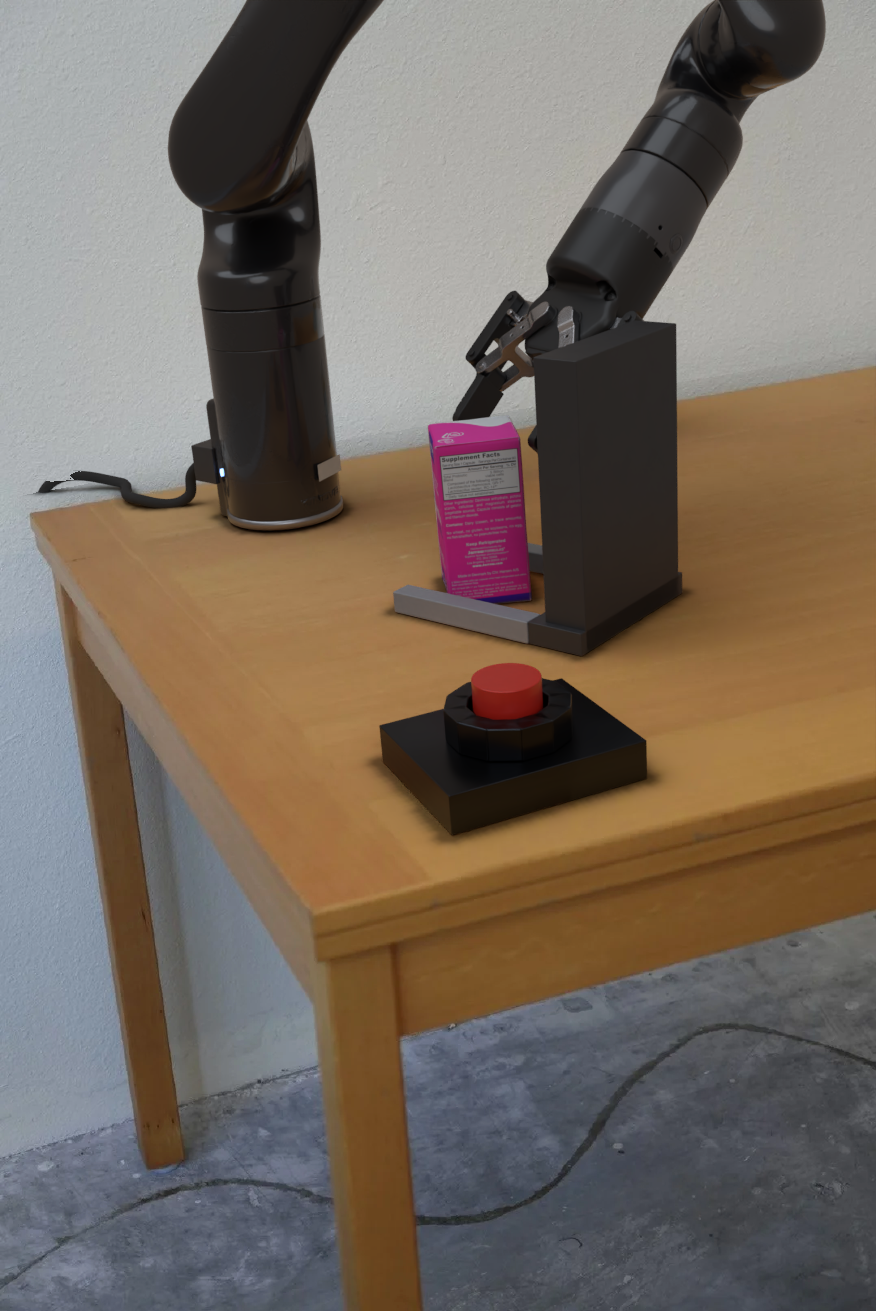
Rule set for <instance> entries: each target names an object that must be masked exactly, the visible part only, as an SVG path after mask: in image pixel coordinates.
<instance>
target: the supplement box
mask: <svg viewBox="0 0 876 1311" xmlns="http://www.w3.org/2000/svg"><path fill="white" fill-rule="evenodd" d="M427 433H428V434H427V435H428V443H429V444H428V445H429V456H430V466H431V467H430V468H431V475H432V476H431V477H432V478H431V479H432V489H433V499H434V509H435V519H436V520H435V521H436V531H437V542H438V551H439V562H440V570H441V579H442V581H443V584H444V587H445V591H446V593H448V594H453V595H457V596H462V597H466V598H471V599H475V600H479V601H484V602H488V603H493V604H497V605H498V604H508V603H519V602H530V601H532V600H533V598H532V597H533V596H532V587H531V585H532V584H531V571H530V569H529V553H528V543H529V542H528V530H527V516H526V515H527V514H526V501H525V500H526V499H525V486H524V472H523V471H524V470H523V457H522V446H521V444H522V442H521V437H520V435H519V433H518V430H517V429H516V426H515V424H514V423H513V421H512V419H511V417H510V416H509V414H502V415H495V416H490V417H486V418H479V419H470V420H461V421H453V420H452V421H443V422H433V423H428V424H427Z"/></svg>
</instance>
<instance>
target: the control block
mask: <svg viewBox="0 0 876 1311" xmlns="http://www.w3.org/2000/svg"><path fill="white" fill-rule="evenodd" d="M542 694H543V708H542V710H540V711H539V712H538V713H536V714H533V715H529V716H525V717H522V718H518V719H502V720H493V719H489V718H485V717H481V716H477V715H476V714H475V713H474V711H473V701H472V687H471V681H468V682H466V683H464V684H462V685H460V686H459V687H458V688H456V689H454V690H453V691H451V692H450V693H449V694H447V695H446V697H445V701H444V704H443V705H444V706H443V708H441V709H437V710H433V711H429V712H425V713H422V714H418V715H413V716H410V717H406V718H402V719H399V720H394V721H390V722H387V723H383V724H380V725H379V738H380V747H381V757H382V762H383V763H384V765H385V766H387V768H388V769H389V770H390V771H391V772H392V773H393V774H394V775H395V776H396V778H398V780H399V781H400V782H401V783H402V784H403V785H404V786H405V787H406V788H407V789H408V790H409V791H410V792H411V794H412V795H413V796H414V797H415V798H416V799H417V800H418V801H419V802H420V803H421V804H422V805H423V806H424V808H426V810H427V811H428V812H430V814H432V815H433V817H434V818H435V819H436V820H437V821H438V822H439V823H440V824H441V826H443V828H444V829H445V830H446V831H448V833H449V834H450V835H451V836H454V835H458V834H462V833H465V832H468V831H472V830H475V829H479V828H482V827H485V826H488V825H492V824H496V823H499V822H502V821H506V820H509V819H513V818H516V817H519V816H523V815H527V814H531V813H533V812H536V811H540V810H545V809H547V808H551V807H553V806H558V805H561V804H564V803H568V802H571V801H574V800H577V799H581V798H584V797H588V796H592V795H595V794H599V793H601V792H605V791H609V790H612V789H615V788H619V787H622V786H626V785H629V784H633V783H635V782H639V781H643V780H647V779H648V758H647V757H648V753H647V751H648V750H647V749H648V747H647V746H648V745H647V739H646V738H644V737H643V736H641V735H640V734H638V733H637V732H635V730H633V729H631V728H630V727H629V726H628V725H626V724H625V723H624V722H622V721H621V720H619V719H618V718H617V717H615V715H613V714H611V713H610V712H609V711H607V710H605V709H604V708H603V707H601V706H600V705H599V704H597V703H596V702H595V701H594V700H592V698H589V697H588V696H587V695H586V694H584V693H582V692H581V691H580V690H579V689H578V688H576V687H575V686H573V685H572V684H570V683H569V682H568V681H566V680H565V679H564V678H562V677H560V678H557V679H554V680H553V679H549V678H544V677H542Z"/></svg>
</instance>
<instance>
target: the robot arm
mask: <svg viewBox="0 0 876 1311" xmlns="http://www.w3.org/2000/svg"><path fill="white" fill-rule="evenodd" d="M383 2H385V0H245V2H244V4H243V6H242V8H241V10H240V11H239V12H238V14H237V16H236V18H235V19H234V21H233V23H232V24H231V25H230V27H229V29H228V30H227V31H226V34H225V35H224V37H223V38H222V40H221V41H220V43H219V44H218V46H217V48H216V49H215V51H213V54H212V55H211V57H210V58H209V60H208V61H207V63H206V64H205V66H204V67H203V69H201V70H202V71H201V72H200V73H199V75H198V76H197V78H196V79H195V81H194V82H193V84H192V85H191V86H190V88H189V89H188V91H187V92H186V93H185V96H184V97H183V98H182V100H181V101H180V103H179V105H178V106H177V108H176V110H175V112H174V115H173V116H172V118H171V123H170V125H169V130H168V137H167V138H168V139H167V157H168V164H169V167H170V171H171V174H172V178H173V180H174V182H175V184H176V185H177V187H178V188H179V191H181V193H182V194H183V195H184V197H185V198H187V199H188V200H189V201H190V202H191V203H192V204H194V206H196V207H198V208H200V209H201V214H202V216H201V217H202V225H203V244H202V245H203V246H202V253H201V258H200V260H199V261H200V262H199V265H198V269H197V275H196V278H197V288H198V296H199V303H200V309H201V316H202V324H203V331H204V338H205V339H204V340H205V345H206V352H207V359H208V360H207V361H208V367H209V374H210V381H211V382H210V383H211V390H212V397H213V398H210V399H209V400H207V401H206V406H205V409H206V415H207V423H208V430H209V439H207V440H206V439H205V440H204V441H201V442H198V443H195V444H192V445H191V446H190V448H191V453H192V461H193V462H192V463H191V464H190V466H189V467H188V469H187V470H186V473H185V477H184V484H185V491H184V492H183V493H182V494H181V495H179V496H176V497H174V498H159V497H154V496H149V495H144V494H140V493H136V492H133V490H132V488H133V487H132V483H131V482H130V481H129V480H128V479H127V478H124V477H121V476H117V475H116V476H115V475H111V474H105V473H101V472H95V471H88V470H77V471H78V472H75V473H73V474H71V475H70V476H71V477H72V478H73V479H74V480H66V481H54V482H50V481H46V480H45V481H44V482H43V483H41V485H40V487H39V488H38V491H37V493H39V494H46V493H50V492H51V491H52V490H53V489H54V488H56V487H57V486H58V485H61V484H63V483H66V482H74V481H75V482H76V481H78V482H79V481H80V482H91V483H96V484H101V485H106V486H110V487H114V488H115V487H116V488H120V495H121V498H122V499H123V500H124V501H125V502H127V503H129V504H135V505H139V506H142V507H146V508H151V509H173V508H181V507H184V506H186V505H188V504H190V503H191V502H192V501H193V500H194V499H195V497H196V495H197V482H202V483H208V484H212V485H216V488H217V495H218V503H219V511H220V515H221V516H223V517H227V519H228V521H229V523H231V524H232V525H234V526H236V527H239V528H243V529H248V530H254V531H285V530H294V529H300V528H304V527H310V526H313V525H317V524H319V523H323V522H325V521H328V520H330V519H333V518H334V517H336V516H338V515H339V514H340V513H341V512H342V511H343V509H344V500H343V496H342V492H341V484H340V472H341V471H342V463H341V462H342V461H341V454H340V453H339V454H338V453H337V452H338V451H337V441H336V432H335V423H334V411H333V401H332V394H331V384H330V374H329V373H330V372H329V364H328V354H327V344H326V335H325V325H324V317H323V316H324V315H323V306H322V297H321V289H320V288H321V287H320V263H321V262H320V261H321V252H322V234H321V233H322V232H321V220H320V206H319V194H318V192H319V191H318V180H317V170H316V169H317V168H316V159H315V148H314V142H313V136H312V131H311V127H310V124H309V121H308V120H309V118H310V115H311V113H312V111H313V109H314V106H315V104H316V102H317V100H318V98H319V96H320V94H321V92H322V90H323V88H324V86H325V83H326V82H327V80H328V78H329V76H330V75H331V73H332V71H333V69H334V67H335V65H336V64H337V62H338V61H339V59H340V57H341V56H342V54H343V52H344V51H345V50H346V48H347V47H348V46H349V44H350V43H351V41H352V40H353V39H354V38H355V36H356V35H357V34H358V33H359V32H360V30H361V29H362V28H363V27H364V26H365V25H366V23H367V22H368V21H369V19H370V18H371V17H373V14H375V12H376V11H377V10H378V9H379V8H380V6H381V5H382V4H383ZM825 12H826V11H825V6H824V2H823V0H712V1H711V2H710V3H707V4H706V5H705V7H703V8H702V9H701V10H700V11H699V12H698V13H697V15H696V16H695V17H694V18H693V19H692V21H691V22H690V23H689V25H688V26H687V28H686V29H685V31H684V32H683V33H682V35H681V37H680V38H679V40H678V42H677V44H676V46H675V47H674V50H673V52H672V54H671V56H670V58H669V61H668V63H667V66H666V68H665V70H664V73H663V74H662V75H663V76H662V77H661V80H660V82H659V84H658V87H657V89H656V90H657V91H656V94H655V97H654V101H653V103H652V104H651V106H650V107H649V108H648V109H647V111H646V112H645V113H644V115H643V117H642V118H641V120H640V121H639V123H638V124H637V126H636V127H635V129H634V131H633V132H632V134H631V135H630V137H629V138H628V140H627V142H625V145H624V146H623V147H622V150H621V151H620V153H619V154H618V155H617V157H616V158H615V160H614V161H613V162H612V163H611V165H610V166H608V168H607V169H606V170H605V172H603V174H602V175H601V176H600V178H599V179H598V180H597V182H596V183H595V184H594V186H593V188H592V189H591V191H590V192H589V194H588V196H587V197H586V198H585V201H584V202H583V204H582V205H581V206H580V208H579V209H578V211H577V212H576V214H575V216H574V217H573V219H572V221H571V223H570V224H569V226H568V227H567V229H566V230H565V232H564V233H563V235H562V237H561V238H560V240H559V241H558V243H556V246H555V247H554V248H553V251H552V252H551V254H550V255H549V257H548V259H547V261H546V264H545V270H546V274H547V287H546V288H545V290H544V291H543V292H542V293H541V294H540V295H539V296H538V297H537V298H536V299H535V300H534V301H530V300H527V299H525V298H524V297H523V296H522V295H521V294H520V293H519V292H518V291H517V290H511V291H509V292H508V293H507V294H506V296H505V297H504V298H503V299H502V301H501V302H500V304H499V305H498V307H497V308H496V310H495V311H494V313H493V314H492V315H491V317H490V319H489V320H488V322H487V323H486V325H485V326H484V327H483V329H482V330H481V332H480V333H479V334H478V336H477V338H476V339H475V340H474V342H473V344H472V345H471V346H470V347H469V349H468V350H467V352H466V354H465V361H467V363H468V364H470V365H471V367H472V368H473V369H474V371H475V372H476V373H475V377H474V379H473V380H472V382H471V384H470V385H469V387H468V389H467V390H466V392H465V393H464V396H462V398H461V400H460V401H459V402H458V405H457V406H456V407H455V411H454V412H453V414H452V421H461V420H470V419H479V418H486V417H491V416H492V414H493V412H494V411H495V410H496V408H497V406H498V404H499V403H500V401H501V399H502V398H503V396H504V395H505V393H504V391H506V390H507V389H508V388H510V387H511V386H512V385H514V384H515V383H517V382H519V381H520V380H521V379H522V378H534V361H533V358H534V357H536V356H539V355H541V354H544V353H547V352H550V351H552V350H555V349H558V348H561V347H564V346H566V345H569V344H572V343H575V342H577V341H580V340H583V339H586V338H588V337H591V336H594V335H597V334H599V333H602V332H605V331H608V330H610V329H613V328H616V327H619V326H621V325H624V324H627V323H630V322H632V321H635V320H636V321H645V320H644V318H645V316H646V315H647V313H648V311H649V310H650V308H651V307H652V305H653V303H655V300H656V299H657V297H658V296H659V294H660V292H662V291H661V290H662V289H663V288H664V286H665V284H666V283H667V282H668V281H669V278H670V277H671V275H672V273H673V272H674V270H675V268H676V267H677V265H678V264H679V262H680V260H681V259H682V257H683V256H684V254H685V253H686V251H687V249H688V248H689V246H690V245H691V243H692V241H693V239H694V237H695V235H696V233H697V231H698V228H699V226H700V224H701V222H702V220H703V218H704V216H705V214H706V212H707V210H708V209H709V208H710V206H711V204H712V202H713V201H714V199H715V198H716V196H717V194H719V191H720V190H721V188H722V186H723V185H724V183H725V182H726V180H727V179H728V177H729V176H730V174H731V173H732V171H733V169H734V168H735V166H736V163H737V161H738V160H739V158H740V154H741V151H742V149H743V145H744V144H743V143H744V135H743V129H742V127H741V125H740V124H741V121H742V119H743V117H744V116H745V114H746V112H747V111H748V109H750V107H751V106H752V104H753V103H754V102H755V101H756V99H757V98H758V97H759V96H760V95H762V94H766V93H767V92H770V91H772V90H775V89H777V88H779V87H781V86H784V85H786V84H788V83H791V82H794V81H795V80H797V79H799V78H801V77H802V76H804V75H805V74H806V73H808V72H809V71H810V70H811V69H812V68H813V67H814V66H815V64H816V63H817V61H818V60H819V58H820V56H821V53H822V51H823V48H824V45H825V40H826V32H827V31H826V30H827V24H826V23H827V21H826V20H827V19H826V14H825ZM493 342H495V344H497V347H496V348H494V349H493V350H492V351H491V352H489V353H488V354H487V353H486V352H487V351H488V349H489V348H490V347H491V345H492V344H493ZM523 342H524V350H525V351H523V350H522V349H521V348H520V347H519V345H520V344H521V343H523ZM508 362H511V365H510V366H509V367H508V368H507V369H505V370H504V371H503V368H504V367H505V366H506V365H507V363H508ZM527 445H528V447H529V448H531V450H533V451H534V452H535V453H536V454H537V455H538V447H537V425H536V424H535V426H534V428H533V429H532V430H531V432H530V434H529V435H528V437H527ZM80 471H81V472H80ZM70 479H71V478H70Z"/></svg>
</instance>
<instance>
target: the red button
mask: <svg viewBox="0 0 876 1311" xmlns="http://www.w3.org/2000/svg"><path fill="white" fill-rule="evenodd" d="M542 678H543V676H542V673H541V671H540V670H539V669H537V668H536V667H534V666H532V665H529V664H526V663H525V664H524V663H518V662H503V663H502V662H501V663H495V664H490V665H487V666H484V667H481V668H480V669H477V671H475V672H474V673H473V674H472V675H471V678H470V682H471V687H472V701H473V711H474V713H475V714H476V715H477V716H481V717H485V718H489V719H493V720H502V719H518V718H522V717H525V716H529V715H533V714H536V713H538V712H539V711H540V710H542V708H543V694H542Z"/></svg>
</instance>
